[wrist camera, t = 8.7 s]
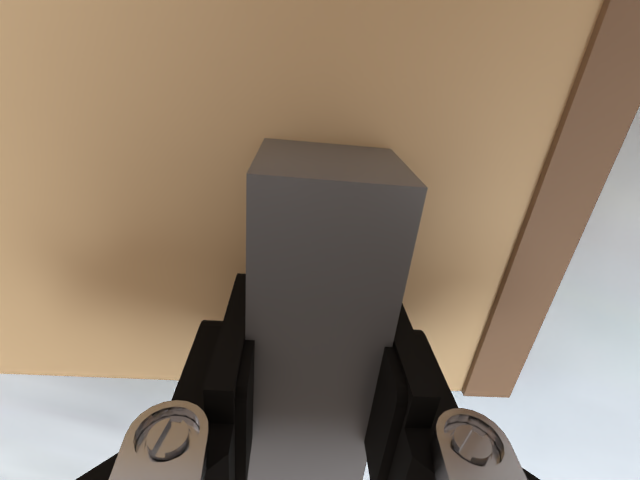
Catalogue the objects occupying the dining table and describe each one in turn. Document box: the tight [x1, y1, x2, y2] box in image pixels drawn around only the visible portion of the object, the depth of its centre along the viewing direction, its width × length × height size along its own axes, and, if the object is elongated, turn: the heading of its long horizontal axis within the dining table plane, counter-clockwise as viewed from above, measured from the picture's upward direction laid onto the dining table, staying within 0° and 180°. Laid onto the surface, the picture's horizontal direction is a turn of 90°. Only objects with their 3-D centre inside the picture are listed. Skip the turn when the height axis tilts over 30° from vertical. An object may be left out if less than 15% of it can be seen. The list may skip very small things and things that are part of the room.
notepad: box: [0, 0, 640, 397], centre depth 9 cm, size 13×19×1 cm
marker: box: [245, 138, 428, 480], centre depth 10 cm, size 10×3×3 cm, turn 175°
